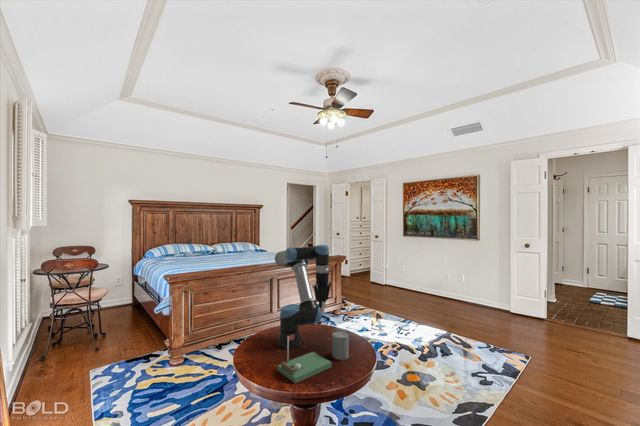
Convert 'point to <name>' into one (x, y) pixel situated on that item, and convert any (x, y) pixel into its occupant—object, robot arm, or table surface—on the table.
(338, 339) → the grey can
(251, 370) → the table surface
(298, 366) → the ball
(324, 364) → the green
